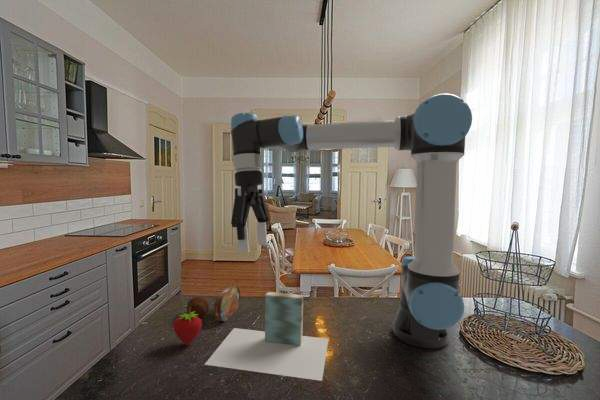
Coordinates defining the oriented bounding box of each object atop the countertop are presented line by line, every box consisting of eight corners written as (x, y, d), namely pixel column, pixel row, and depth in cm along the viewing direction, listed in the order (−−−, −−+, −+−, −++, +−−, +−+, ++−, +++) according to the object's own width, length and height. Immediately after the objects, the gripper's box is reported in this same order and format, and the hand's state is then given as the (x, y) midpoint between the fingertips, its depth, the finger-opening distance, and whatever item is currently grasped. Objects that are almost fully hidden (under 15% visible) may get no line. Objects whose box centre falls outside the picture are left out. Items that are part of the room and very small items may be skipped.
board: (302, 341, 82) (303, 295, 81) (300, 346, 80) (301, 298, 79) (267, 337, 84) (267, 291, 83) (264, 341, 81) (265, 295, 81)
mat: (328, 340, 84) (328, 338, 84) (321, 383, 66) (322, 380, 66) (234, 329, 89) (234, 328, 89) (204, 366, 71) (204, 364, 71)
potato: (183, 323, 92) (183, 303, 92) (189, 310, 101) (188, 291, 101) (206, 322, 93) (206, 302, 93) (210, 309, 102) (210, 291, 102)
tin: (221, 326, 91) (221, 299, 90) (211, 325, 92) (212, 298, 91) (241, 306, 106) (241, 282, 105) (232, 305, 106) (232, 282, 106)
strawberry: (179, 337, 84) (179, 302, 83) (205, 339, 83) (205, 304, 82) (168, 349, 78) (168, 312, 77) (196, 351, 77) (196, 314, 77)
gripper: (252, 175, 96) (257, 242, 95) (212, 168, 71) (219, 257, 71) (275, 173, 94) (280, 241, 94) (241, 164, 70) (248, 256, 69)
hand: (254, 248), depth 82 cm, fingers open, 13 cm apart
